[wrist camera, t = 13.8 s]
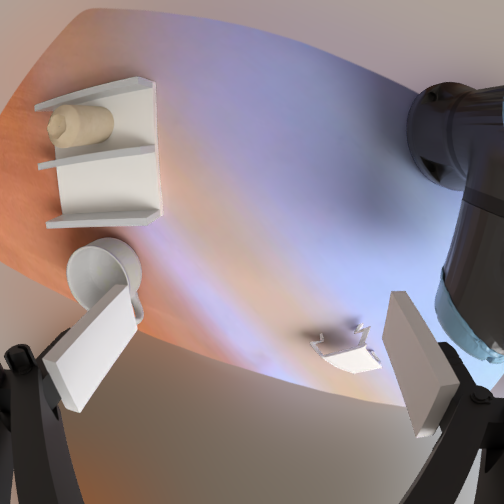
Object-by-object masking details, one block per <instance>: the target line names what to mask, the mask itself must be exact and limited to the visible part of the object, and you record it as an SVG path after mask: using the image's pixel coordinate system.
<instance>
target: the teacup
mask: <svg viewBox="0 0 504 504" xmlns="http://www.w3.org/2000/svg"><path fill="white" fill-rule="evenodd" d="M66 272H67V273H66V274H67V281H68V285H69V288H70V290H71V292H72V294H73V296H74V298H75V299H76V300H77V301H78V303H79V304H81V305H82V306H83V307H84V308H85V309H86V310H88V311H89V310H90V309H91V308H92V307H93V306H94V305H95V304H96V303H97V302H98V301H99V300H100V299H101V298H102V297H103V296H104V295H105V294H106V293H107V292H108V291H109V290H110V289H111V288H112V287H113V286H114V285H115V284H117V285H128V289H129V294H130V299H131V303H132V305H133V307H134V310H135V315H136V318H135V321H136V325H137V324H139V323H140V322H141V321H142V319H143V317H144V312H143V307H142V305H141V302H140V300H139V298H138V293H137V290H138V288H139V286H140V283H141V279H142V268H141V264H140V261H139V258H138V256H137V255H136V253H135V252H134V250H133V249H132V248H131V247H130V246H129V245H128V244H126V243H125V242H123V241H121V240H119V239H116V238H101V239H98V240H95V241H93V242H91V243H89V244H87V245H86V246H83V247H81V248H79V249H77V250H76V251H75V252H74V253H73V254H72V255H71V257H70V259H69V261H68V264H67V271H66Z"/></svg>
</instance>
